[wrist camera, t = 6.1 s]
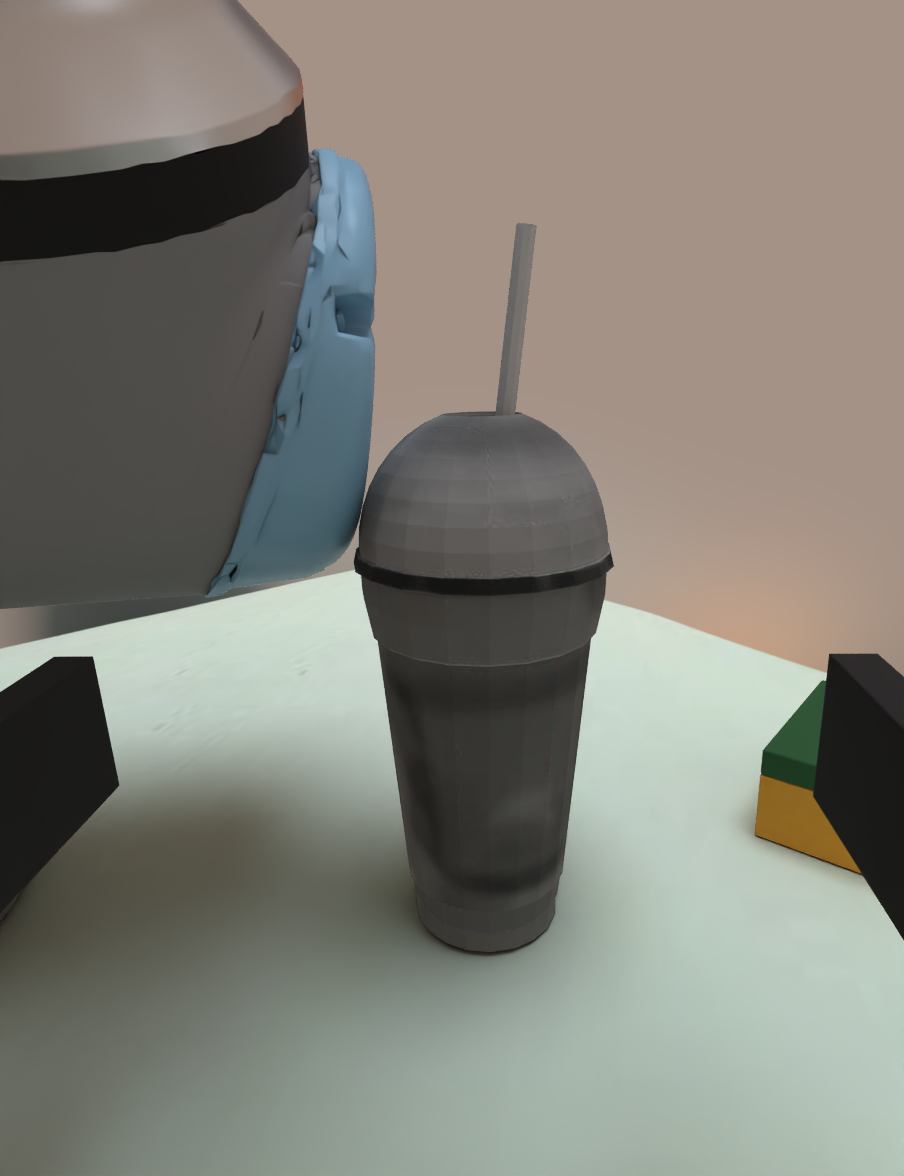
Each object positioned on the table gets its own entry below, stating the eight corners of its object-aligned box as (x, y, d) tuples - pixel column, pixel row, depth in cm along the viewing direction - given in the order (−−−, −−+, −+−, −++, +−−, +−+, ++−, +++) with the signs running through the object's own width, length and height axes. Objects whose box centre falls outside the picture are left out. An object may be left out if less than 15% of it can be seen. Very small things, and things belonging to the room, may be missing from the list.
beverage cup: (418, 820, 29) (397, 256, 23) (611, 852, 27) (639, 239, 21) (334, 957, 22) (276, 212, 17) (582, 1015, 20) (611, 181, 14)
